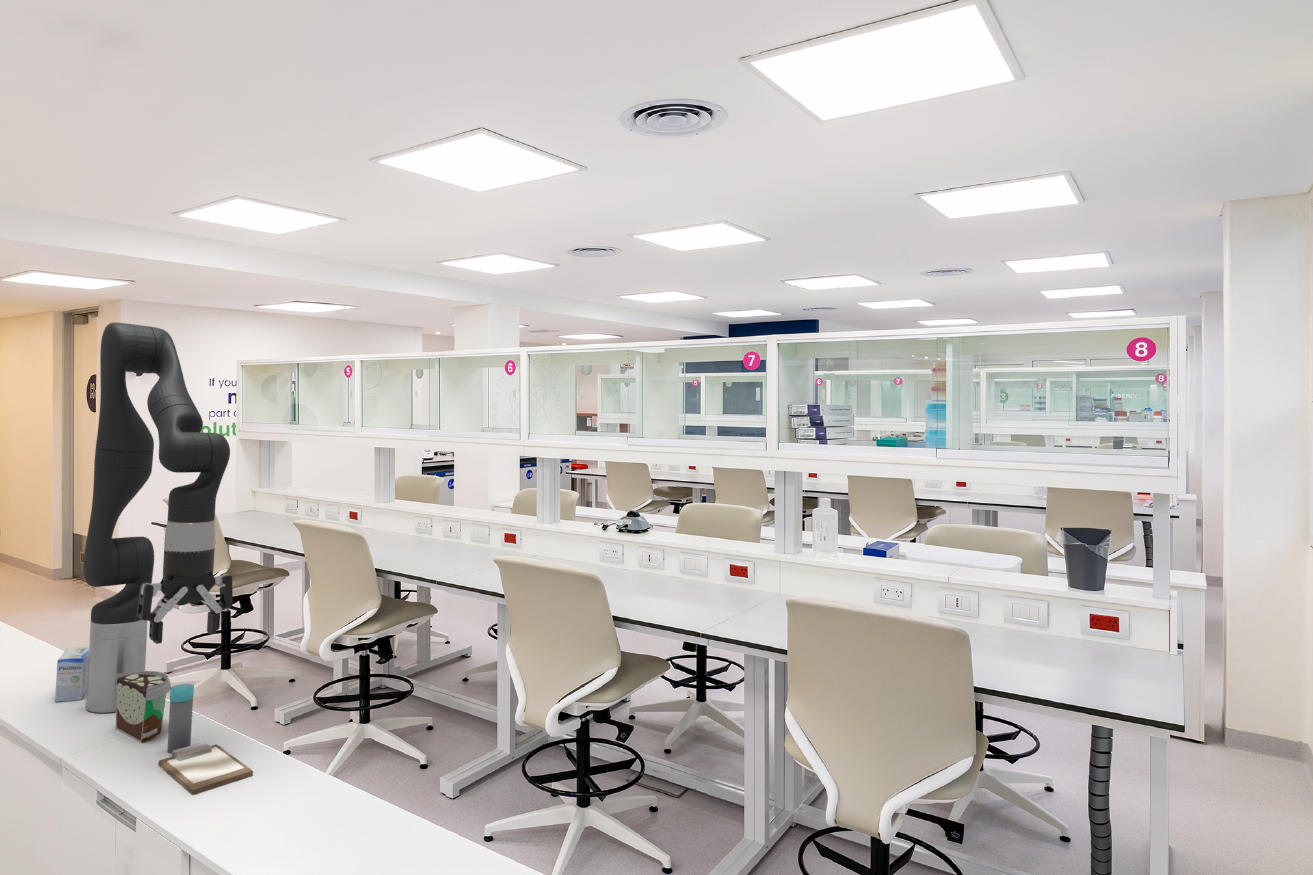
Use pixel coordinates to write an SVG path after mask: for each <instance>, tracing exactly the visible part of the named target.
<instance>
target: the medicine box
mask: <svg viewBox="0 0 1313 875" xmlns="http://www.w3.org/2000/svg"><path fill="white" fill-rule="evenodd" d="M88 663H89V646H79V647H78V646H77V647H68V648H66V649H65V650H64V652H63V653H62V654H61V655H60V656H59V658H58V660H57V662H56V681H55V695H54V696H55V697H54V702H56V703H62V702H61V701H66V702H75V701H74V700H77V701H81V700H83V699H84V697H85V695H86V694H87V682H88ZM72 700H73V701H72ZM59 701H60V702H59Z"/></svg>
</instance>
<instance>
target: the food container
mask: <svg viewBox="0 0 1313 875" xmlns="http://www.w3.org/2000/svg"><path fill="white" fill-rule="evenodd" d="M114 685H116V712H115V730H116V731H117V732H120V733H122V734H124V735H126V736H127V737H129V738H131V739H133V740H135V741H137V742H139V743H140V742H141V744H143V743H146V742H149V741H151V740H153V739H154V738H157V737H158V736H159V735H160V734H161V731H162V727H163V726H162V725H163V718H164V711H165V706H166V699H167V694H168V693H170V688H171V687H172V685H171V680H170V678H169V675H168V674H166V673H164V672H162V671H157V670H156V671H155V670H145V671H133V672H125V673H120V674H116V677H115V682H114ZM148 740H149V741H148Z"/></svg>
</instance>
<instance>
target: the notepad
mask: <svg viewBox="0 0 1313 875" xmlns="http://www.w3.org/2000/svg"><path fill="white" fill-rule="evenodd" d="M158 766H159V767H160V766H161V767H162V768H163V769H164V770H163V769H162V768H161V767H160V768H161V769H162V770H163V771H164V772H166V773H167V774H168V775H169V776H170V775H171V776H170V777H171V778H173V779H174V781H176V782H177V783H179V785H181V786H182V787H183V788H184V789H185V790H187V791H188V792H189V793H190V794H191V796H192V795H196V794H199V793H202V792H205V791H208V790H211V789H215V788H218V787H221V786H224V785H228V784H230V783H234V782H236V781H241V780H243V779H246V778H249V777H252V776H253V774H254V770H253V769H251V768H250V767H249V766H247V765H246V764H244V763H243V762H242V761H240V760H239V759H238V758H236V757H235V756H233V754H231V753H229V752H228V751H227V750H226V749H224V748H223V747H221V746H220V745H218V744H217V743H215V744H212V745H210V744H208V743H207V742H205V741H204V742H200V743H197V744H192V745H191V746H188V747H185V748H181V749H177V750H174V751H172V754H171V756H170V757H166V758H163V759H159V760H158Z"/></svg>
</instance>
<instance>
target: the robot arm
mask: <svg viewBox="0 0 1313 875" xmlns="http://www.w3.org/2000/svg"><path fill="white" fill-rule="evenodd" d="M100 340H101V342H100V358H99V359H100V362H99V363H100V364H99V365H100V371H99V372H100V374H99V375H100V377H99V378H100V398H99V399H100V400H99V402H100V404H99V412H98V413H99V416H98V426H97V436H96V440H95V450H94V451H95V452H94V463H93V464H94V465H93V466H94V468H93V488H92V489H93V490H92V501H91V512H90V516H89V523H88V528H87V529H88V530H87V536H86V542H85V546H84V554H83V562H82V563H83V564H82V570H83V571H82V572H83V578H84V580H85V582H86V584H87V585H88V586H90V587H93V588H100V587H101V588H103V587H113V586H121V585H124V587H123V588H122V589H121V590H120V591H118V592H117V593H116V594H114V595H112V596H110V597H108V598H106V599H104V600H102V601H98V602H97V603H95V604H94V605H93V606H92V608H91V611H90V628H89V646H88V647H89V663H88V682H87V691H86V699H85V700H86V703H85V705H86V706H85V709H86V710H87V711H89V712H92V713H98V714H99V713H101V714H102V713H116V685H114V682H115V677H116V674H120V673H125V672H133V671H146V658H147V639H148V636H149V639H150V641H152V642H153V643H154V644H156V645H158V644H159V645H160V644H162V643H163V633H164V632H163V631H164V621H162V620H163V619H164V618H165V617H166V615H167V614H168V613H169V612H171V611H172V610H173V608H175V606H180V607H181V606H186V605H188V604H193V605H196V604H199V603H200V602H201V603H203V604H204V605H205V606H206V607H207V609H208V610H209V611H207V619H206V620H207V623H206V625H207V626H206V632H207V634H209V635H216V633H217V631H218V630H219V629H220V628H221V627H220V626H221V613H222V612H223V610H226V609H231V608H232V607H233V605H234V604H233V594H234V593H233V592H234V591H233V588H234V587H233V576H232V575H229V574H227V573H225V572H224V573H221V574H220V575H217V576H214V567H215V551H216V544H217V539H216V523H215V522H216V519H215V518H216V502H217V501H216V500H217V494H218V492H219V490H220V489H219V488H220V485H221V483H222V480H223V478H224V474H225V472H226V469H227V466H228V464H229V461H230V457H231V447H230V444H229V442H228V440H227V439H226V437H225V436H224V435H223V434H220V433H218V432H202V430H203V426H204V421H203V419H202V416H201V414H200V412H199V410H198V408H197V406H196V405H195V403H194V401H193V399H192V398H191V395H190V394H189V391H188V388H187V384H186V381H185V378H184V374H183V371H182V370H183V369H182V365H181V362H180V359H179V355H178V352H177V348H176V345H175V343H174V342H175V341H174V340H173V338H172V336H171V334H170V333H169V332H168V331H166V330H165V329H163V328H160V327H156V326H150V325H149V326H148V325H143V324H142V325H141V324H134V323H132V324H131V323H126V322H117V321H116V322H114V321H113V322H110V323H108V324H107V325H106V326H105V328H104V330H103V332H102V336H101V339H100ZM127 373H137V374H149V375H150V374H156V375H157V376H158V380H157V381H156V383H154V385H153V387H152V388H151V389H150V391H149V393H148V396H147V401H146V402H147V403H146V404H147V410H148V413H149V415H150V416H151V419H152V422H153V423H154V425H155V428H156V429H157V434H158V460H159V462H160V465H161V466H162V467H163V468H164V469H166V470H167V471H170V473H171V472H173V473H179V474H180V473H181V474H183V473H186V474H187V473H199V474H198V477H197V478H196V479H195V481H193V482H192V483H187V484H185V485H180V486H177V487H173V488H172V489H171V490H170V492H169V495H168V504H167V507H168V508H167V520H166V528H165V532H164V544H163V564H162V579H161V580H160V582H157V583H155V582H154V583H153V575H154V570H155V569H154V566H155V550H154V546H153V543H152V541H151V540H150V539H149V538H148V537H147V536H128V537H127V536H125V537H124V536H123V537H114V538H113V534H114V531H115V528H116V525H117V522H118V520H119V518H120V516H121V515H122V513H123V512H124V510H125V509H126V507H127V506H128V504H130V502H131V501H132V500H133V499H134V498H135V497H136V496H137V494H138V493H139V492H140V491H141V490H142V488H143V487H144V486H145V484H146V483H147V481H148V480H149V478H150V477H151V475H152V470H153V461H154V450H155V442H154V440H155V439H154V438H153V435H152V433H151V431H150V429H149V427H148V426H147V424H146V423H145V421H144V420H143V418H142V417H141V416H140V414H139V412H138V411H137V409H136V408H135V406H134V403H133V402H132V400H131V398H130V396H129V391H128V388H127V380H126V377H127V375H126V374H127ZM215 584H216V586H217V587H218V588H219V601H218V602H217V601H216V599H215V598H214V597H213V595H212V594H211V593H210V591H211V590H212V589H213V587H214V585H215ZM158 591H161V592H162V594H163V595H162V597H161V598H159V600H158V602H157V604H156V606H155V607H154V608H153V609H152V604H153V597H155V596H156V595H157V594H158ZM148 622H149V632H148Z"/></svg>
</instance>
